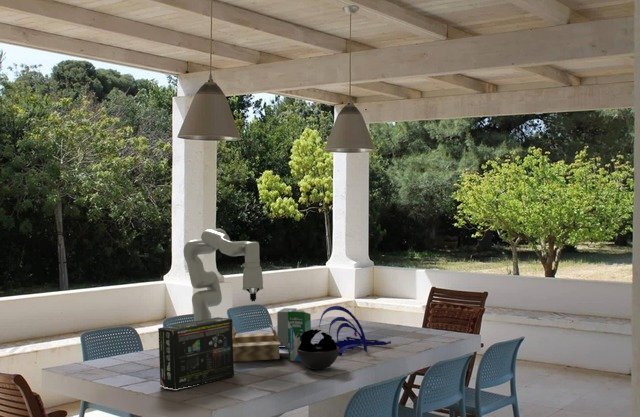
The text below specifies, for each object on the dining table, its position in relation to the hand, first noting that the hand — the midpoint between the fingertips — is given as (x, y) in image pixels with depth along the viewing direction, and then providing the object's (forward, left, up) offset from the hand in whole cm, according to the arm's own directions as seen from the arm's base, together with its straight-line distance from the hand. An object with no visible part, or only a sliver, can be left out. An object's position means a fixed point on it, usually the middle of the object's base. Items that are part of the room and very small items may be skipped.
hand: (253, 301), depth 387 cm
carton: (0, 0, -29) cm, 29 cm away
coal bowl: (+27, -37, -29) cm, 54 cm away
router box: (-30, -48, -29) cm, 64 cm away
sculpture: (+51, +8, -29) cm, 59 cm away
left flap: (-12, 0, -19) cm, 23 cm away
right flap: (+12, 0, -19) cm, 23 cm away
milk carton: (+22, -13, -29) cm, 39 cm away
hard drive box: (+21, +25, -29) cm, 44 cm away
